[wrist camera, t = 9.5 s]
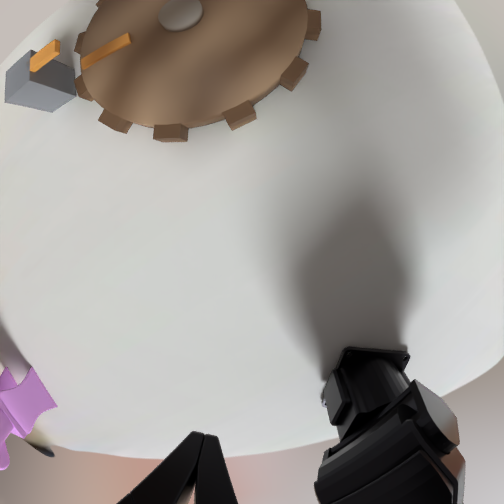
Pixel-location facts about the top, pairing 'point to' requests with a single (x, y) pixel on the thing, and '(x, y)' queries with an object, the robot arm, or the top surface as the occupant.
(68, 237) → the top surface
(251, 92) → the sprocket
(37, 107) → the grey toy mallet
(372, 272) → the top surface
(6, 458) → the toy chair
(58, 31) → the top surface
